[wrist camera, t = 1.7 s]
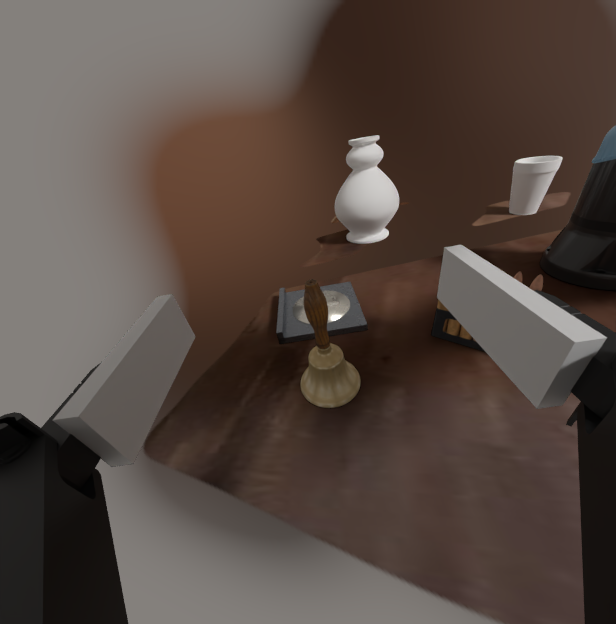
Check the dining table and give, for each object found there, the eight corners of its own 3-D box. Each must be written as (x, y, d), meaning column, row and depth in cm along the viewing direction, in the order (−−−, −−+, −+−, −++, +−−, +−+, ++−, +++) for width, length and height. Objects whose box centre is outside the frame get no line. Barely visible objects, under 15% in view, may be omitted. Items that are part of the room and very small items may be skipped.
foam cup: (507, 206, 79) (520, 157, 71) (546, 207, 73) (564, 154, 66) (498, 215, 74) (511, 164, 66) (540, 217, 68) (559, 161, 61)
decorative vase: (327, 238, 82) (315, 146, 68) (370, 222, 88) (368, 135, 74) (362, 252, 68) (357, 142, 54) (411, 232, 74) (418, 128, 60)
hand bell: (361, 409, 31) (352, 300, 22) (295, 407, 33) (262, 305, 24) (360, 359, 38) (353, 260, 29) (305, 359, 40) (283, 266, 31)
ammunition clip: (430, 335, 39) (440, 264, 33) (434, 328, 40) (445, 258, 34) (517, 361, 33) (552, 280, 26) (519, 352, 34) (553, 272, 27)
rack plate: (350, 286, 55) (349, 276, 54) (367, 330, 43) (366, 318, 41) (282, 298, 56) (279, 288, 54) (279, 344, 44) (276, 332, 42)
